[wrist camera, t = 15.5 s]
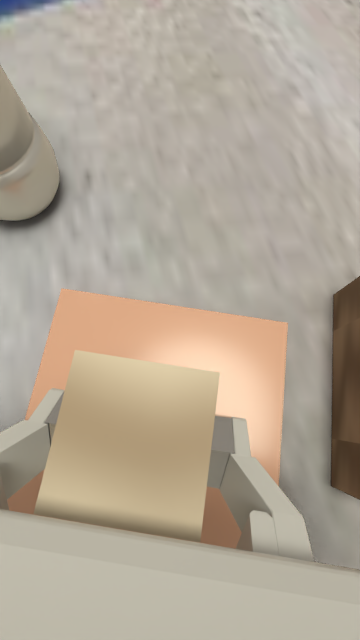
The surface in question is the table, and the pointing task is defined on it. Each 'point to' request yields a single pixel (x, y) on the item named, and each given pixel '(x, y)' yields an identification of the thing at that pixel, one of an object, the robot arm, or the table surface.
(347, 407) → the walnut collar holder
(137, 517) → the block
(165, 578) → the robot arm
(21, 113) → the plastic bottle
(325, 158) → the table surface
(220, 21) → the table surface
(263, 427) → the terracotta tile
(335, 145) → the table surface
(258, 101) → the table surface
